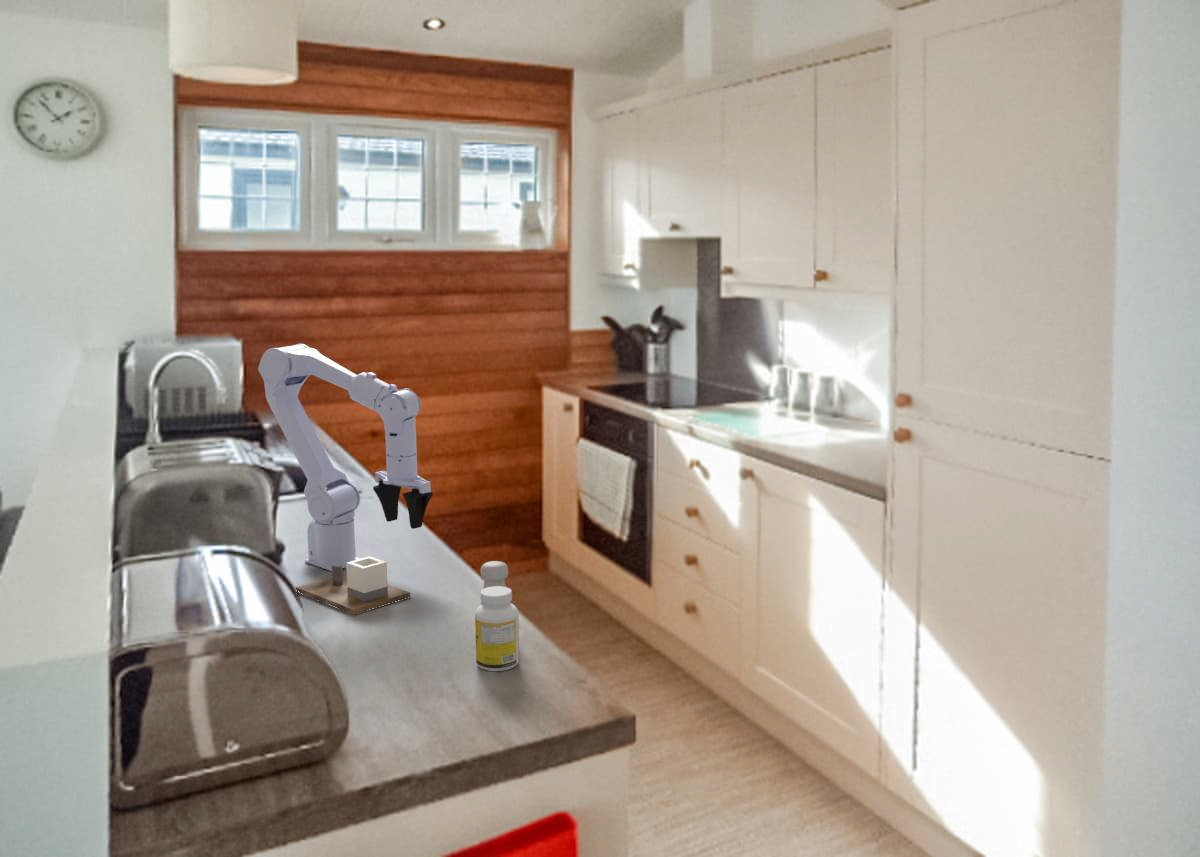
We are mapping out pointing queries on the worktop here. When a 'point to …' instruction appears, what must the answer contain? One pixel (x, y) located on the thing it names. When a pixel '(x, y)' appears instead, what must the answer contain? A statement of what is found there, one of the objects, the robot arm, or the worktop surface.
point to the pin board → (346, 593)
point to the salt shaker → (494, 574)
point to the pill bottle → (497, 630)
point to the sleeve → (367, 578)
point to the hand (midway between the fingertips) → (403, 523)
